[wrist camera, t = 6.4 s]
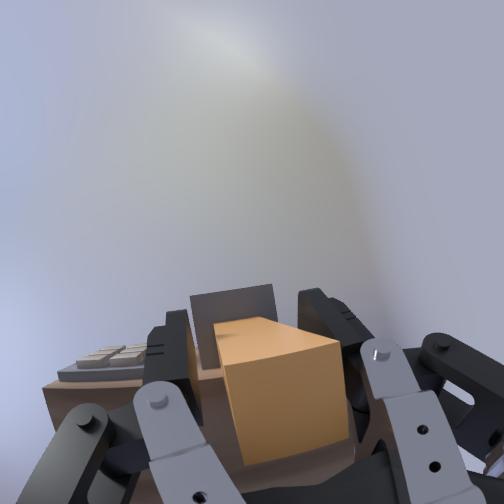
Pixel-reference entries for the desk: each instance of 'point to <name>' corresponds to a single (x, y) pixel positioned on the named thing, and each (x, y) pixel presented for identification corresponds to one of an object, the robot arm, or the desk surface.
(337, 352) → the mallet
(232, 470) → the brown wooden tall block
